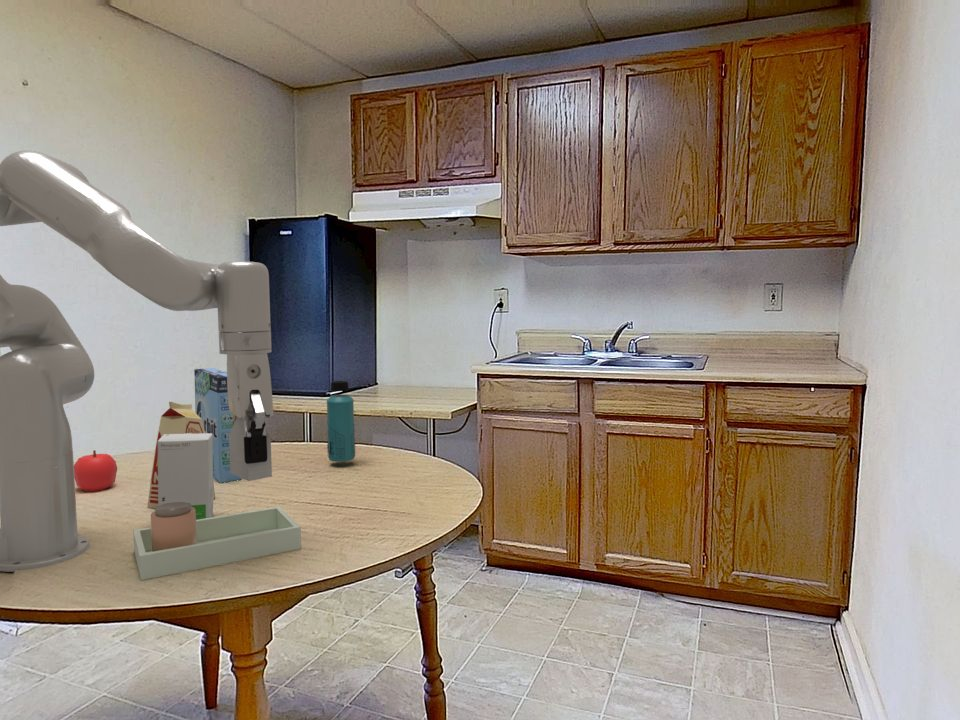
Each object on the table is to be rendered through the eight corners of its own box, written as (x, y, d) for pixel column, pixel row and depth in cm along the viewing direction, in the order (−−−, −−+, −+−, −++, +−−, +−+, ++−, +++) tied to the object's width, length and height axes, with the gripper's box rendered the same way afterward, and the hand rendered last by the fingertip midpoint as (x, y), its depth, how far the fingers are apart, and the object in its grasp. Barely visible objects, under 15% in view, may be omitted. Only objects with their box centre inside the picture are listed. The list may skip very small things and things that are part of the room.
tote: (141, 584, 90) (139, 556, 89) (134, 555, 100) (133, 530, 99) (301, 552, 101) (300, 527, 101) (280, 529, 111) (279, 506, 111)
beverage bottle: (361, 463, 156) (360, 380, 154) (341, 469, 151) (340, 383, 149) (341, 460, 160) (339, 378, 158) (321, 465, 154) (319, 381, 152)
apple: (64, 491, 133) (62, 453, 133) (98, 481, 141) (96, 445, 140) (94, 495, 131) (91, 456, 130) (127, 485, 138) (125, 447, 138)
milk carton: (189, 511, 121) (185, 404, 119) (145, 508, 123) (140, 402, 121) (218, 497, 130) (215, 397, 128) (177, 494, 132) (173, 395, 130)
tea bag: (248, 481, 98) (246, 415, 97) (230, 472, 103) (227, 409, 102) (271, 476, 101) (269, 412, 100) (252, 468, 106) (250, 407, 105)
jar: (154, 569, 93) (152, 516, 92) (150, 555, 98) (148, 504, 98) (200, 560, 96) (198, 508, 96) (194, 547, 101) (191, 498, 101)
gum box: (196, 465, 155) (192, 369, 153) (219, 462, 158) (215, 367, 156) (219, 483, 139) (215, 376, 137) (243, 479, 142) (240, 375, 140)
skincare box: (158, 533, 109) (153, 441, 108) (165, 520, 116) (161, 433, 114) (211, 528, 112) (208, 438, 110) (216, 516, 118) (212, 431, 117)
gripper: (285, 345, 95) (289, 465, 96) (257, 339, 109) (261, 444, 111) (231, 347, 91) (236, 472, 92) (209, 341, 106) (214, 449, 107)
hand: (249, 456), depth 102 cm, fingers closed on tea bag, 7 cm apart
